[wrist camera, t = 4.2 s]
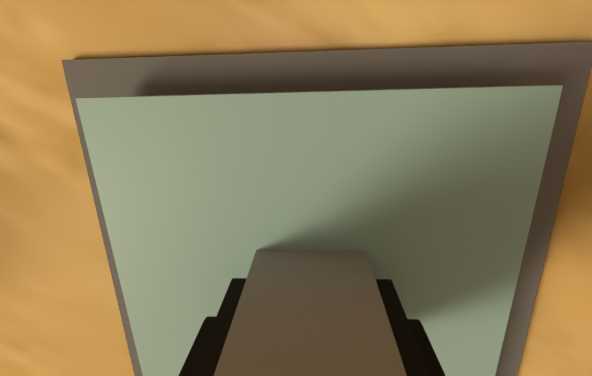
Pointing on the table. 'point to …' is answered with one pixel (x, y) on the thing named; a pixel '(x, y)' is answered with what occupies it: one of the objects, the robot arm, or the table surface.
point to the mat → (366, 76)
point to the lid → (320, 220)
